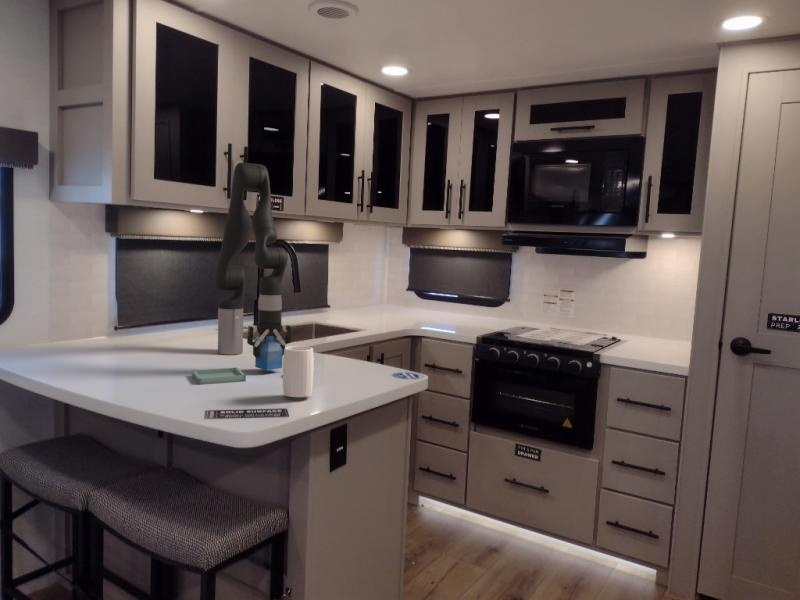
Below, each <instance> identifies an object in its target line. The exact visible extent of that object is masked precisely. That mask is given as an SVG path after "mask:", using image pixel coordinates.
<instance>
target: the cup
mask: <svg viewBox="0 0 800 600" xmlns="http://www.w3.org/2000/svg"><path fill="white" fill-rule="evenodd" d="M314 361H315V360H314V348H313V347H311V346H307V345H289V346H285V349H284V355H283V356H282V390H283V395H284V396H285V397H286V396H287V397H290V398H305V397H310V396H311V395H313V388H314V387H313V386H314V371H315V370H314V367H315V366H314V363H315V362H314Z"/></svg>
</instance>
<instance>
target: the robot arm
mask: <svg viewBox="0 0 800 600" xmlns="http://www.w3.org/2000/svg"><path fill="white" fill-rule="evenodd" d="M270 182H271V181H270V176H269V170H268V168H267V167H266V166H265V165H263V164H260V163H253V162H252V163H251V162H250V163H249V162H239V163H237V164H236V165H235V167H234V170H233V176H232V184H231V193H230V201H229V207H228V212H227V216H226V220H225V225H224V231H223V235H222V242H221V243H222V244H221V249H220V252H219V256H218V259H217V263H216V266H215V271H214V275H213V285H214V287H215V289H216V290H219V291H232V292H231V294H230V295H229V296H227V297H225V298H222V299H220V300H219V301H218V302H217V305H218V306H217V308H218V310H217V353H218V354H219V355H224V356H225V355H229V356H230V355H240V354H243V351H244V350H243V349H244V302H245V289H246V288H245V285H246V272H245V269H244V268H243V266H241V265H240V266H239V265H231V263H232V261H233V259H234V258H235V257H237V255H238V254H239V253H240V252H241V251H242V250H243V249H245V247H246V246H247V244H249V241H250V239H251V233H252V230H253V233H254V238H255V247H254V248H255V249H254V250H255V251H254V256H253V257H254V263H255V265H256V266H257V267H258V268H259V269H262V270H272V272H271V273H270V274H268V275H264V276H262V277H260V280H259V292H258V293H259V297H258V302H257V303H258V306H257V307H258V310H257V325H256V326H252V325H248V327H247V336H246V337H247V338H246V339H247V341H246V343H247V345H249V346H252V355H253V356H254V357H255V359H256V358H258V354H259V347H258V345H259V344H260V342H261V341H264V340H265V339H266V336H268V333H269V332H274V333H273V336H274V340H275V339H276V340H277V342H278V343H279V345H280V346H281V348H282V349H283V351H282V357H284V349H285V348H286V346H287V344H291V342H292V339H291V338H292V331H291V330H292V328H291V326H290V325H289V324H285V325H282V311H283V310H282V308H283V304H282V300H283V299H282V282H283V278H284V275H285V271H286V268H287V265H288V260H289V257H288V253H287V251H286V250H285V248H283V247H269V245H272V244H275V243H276V242H277V240H278V235H277V231H276V225H275V222H274V217H273V210H272V197H271V196H272V195H271V193H272V192H271V183H270ZM245 191H247V192H248V191H249V192H258V194H259V201H258V204H257V205H256V208H255V210H254V212H253V214H252V218H251V216H250V213H249V212H248V210H247V207H246V205H245V202H244V193H245ZM267 246H268V247H267ZM282 330H283V331H284V335H285V337H284V339H283V337H282V336H281V332H282ZM256 331H257V332H258V334H257V335H256V338H255V339H254V334H255V332H256Z"/></svg>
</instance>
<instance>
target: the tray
mask: <svg viewBox="0 0 800 600" xmlns="http://www.w3.org/2000/svg"><path fill="white" fill-rule="evenodd" d="M191 376H192V377H193V379H194V380H195V382H196V384H198V385H199V386H200V385H210V384H211V385H213V384H224V383H238V382H240V383H241V382H247V381H246V380H247V379H246V378H247V377H246V374H245V373H244V372H243V371H241V369H239V368H238V367H225V368H210V369H209V368H207V369H194V370H192V375H191Z"/></svg>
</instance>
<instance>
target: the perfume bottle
mask: <svg viewBox="0 0 800 600" xmlns="http://www.w3.org/2000/svg"><path fill="white" fill-rule="evenodd" d="M273 333H274V332H269V333H268V336H266V339H264V340H262V341H261V342H260V344H259V345H258V347H259V354H258V358H255V360H254V361H255V366H254V367H255V368H258V369H260V370H264V371H272V370H276V369H277V370H278V369H283V356H282V351H283V349H282V348H281V346H280V342H279V341H276V340H275V339H274V336H273Z"/></svg>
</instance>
